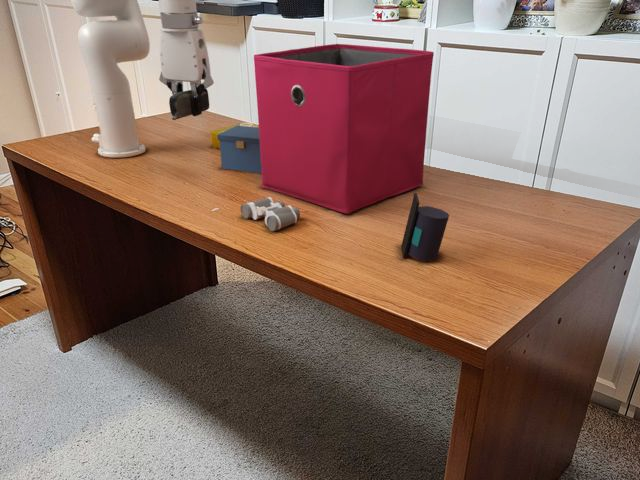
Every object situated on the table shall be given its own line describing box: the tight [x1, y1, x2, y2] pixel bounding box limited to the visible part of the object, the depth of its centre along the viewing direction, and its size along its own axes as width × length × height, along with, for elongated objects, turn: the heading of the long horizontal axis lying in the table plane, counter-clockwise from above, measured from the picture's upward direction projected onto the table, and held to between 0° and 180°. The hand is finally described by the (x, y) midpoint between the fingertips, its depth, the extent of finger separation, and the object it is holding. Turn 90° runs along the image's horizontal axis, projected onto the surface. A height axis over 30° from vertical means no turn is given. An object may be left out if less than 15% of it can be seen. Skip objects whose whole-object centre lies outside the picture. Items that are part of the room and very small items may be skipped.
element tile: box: [210, 122, 259, 150], centre depth 168 cm, size 15×15×5 cm
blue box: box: [217, 126, 262, 174], centre depth 150 cm, size 13×11×8 cm
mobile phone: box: [168, 88, 210, 121], centre depth 133 cm, size 5×3×15 cm
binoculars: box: [240, 196, 301, 232], centre depth 120 cm, size 12×8×4 cm, turn 41°
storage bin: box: [253, 43, 435, 215], centre depth 131 cm, size 28×29×28 cm
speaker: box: [400, 192, 450, 262], centre depth 104 cm, size 8×6×10 cm
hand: (189, 113), depth 135 cm, fingers closed on mobile phone, 3 cm apart
